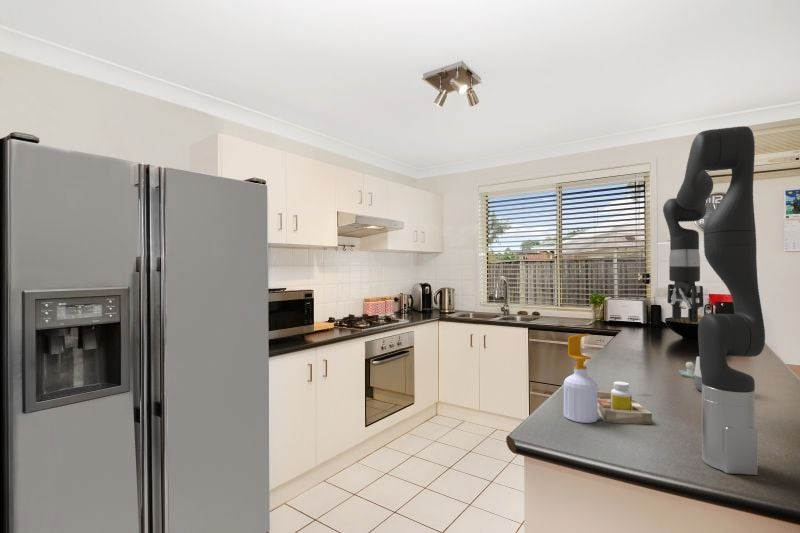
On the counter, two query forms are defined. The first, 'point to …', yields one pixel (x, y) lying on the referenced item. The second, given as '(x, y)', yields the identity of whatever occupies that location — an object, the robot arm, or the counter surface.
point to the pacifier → (688, 370)
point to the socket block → (622, 411)
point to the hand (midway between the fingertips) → (684, 320)
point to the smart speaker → (698, 376)
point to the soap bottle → (580, 387)
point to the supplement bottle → (621, 396)
